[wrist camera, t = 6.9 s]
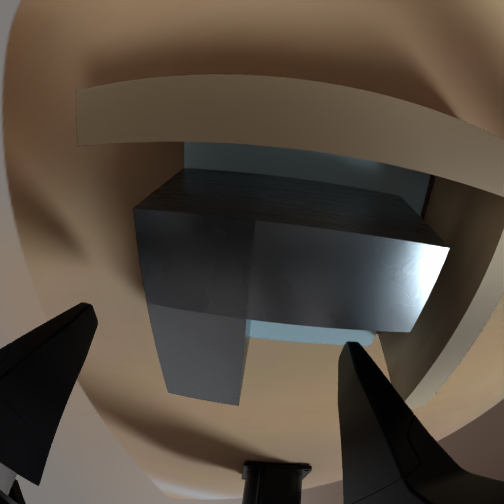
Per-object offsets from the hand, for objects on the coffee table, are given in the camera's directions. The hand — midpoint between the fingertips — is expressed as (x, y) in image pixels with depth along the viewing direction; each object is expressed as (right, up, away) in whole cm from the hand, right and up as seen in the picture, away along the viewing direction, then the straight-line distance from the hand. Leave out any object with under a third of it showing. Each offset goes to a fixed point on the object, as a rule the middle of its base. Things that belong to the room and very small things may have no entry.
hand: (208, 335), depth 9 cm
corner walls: (+3, +3, +1) cm, 4 cm away
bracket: (+3, +2, +1) cm, 3 cm away
